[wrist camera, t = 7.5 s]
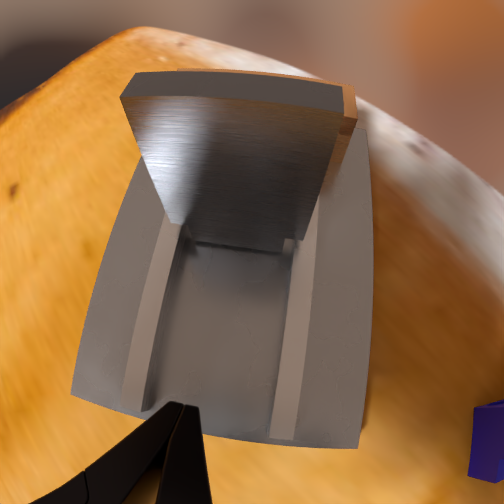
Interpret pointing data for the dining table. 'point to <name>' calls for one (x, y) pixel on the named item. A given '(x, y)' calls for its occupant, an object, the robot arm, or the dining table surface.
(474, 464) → the blue saddle bracket
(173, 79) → the metal angle bracket
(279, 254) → the rail base
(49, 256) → the dining table surface
